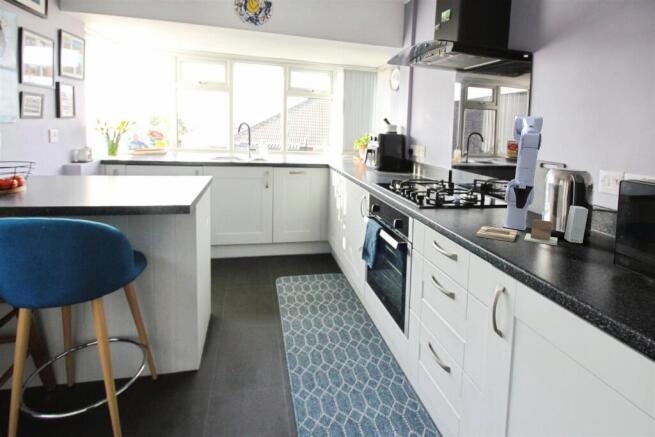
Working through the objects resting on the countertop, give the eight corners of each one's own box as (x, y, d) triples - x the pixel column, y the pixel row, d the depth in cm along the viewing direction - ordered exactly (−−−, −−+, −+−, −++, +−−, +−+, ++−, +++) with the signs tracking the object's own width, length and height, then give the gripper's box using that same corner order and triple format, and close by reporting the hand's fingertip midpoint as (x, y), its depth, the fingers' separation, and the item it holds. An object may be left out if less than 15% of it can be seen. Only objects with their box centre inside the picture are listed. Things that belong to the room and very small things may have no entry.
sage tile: (526, 234, 160) (526, 233, 160) (557, 239, 156) (557, 237, 156) (524, 240, 152) (524, 238, 151) (556, 245, 147) (556, 243, 147)
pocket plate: (482, 228, 166) (483, 225, 166) (517, 234, 161) (517, 230, 160) (476, 236, 154) (476, 232, 154) (513, 241, 149) (513, 238, 148)
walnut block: (530, 235, 157) (533, 219, 155) (549, 238, 154) (552, 221, 153) (530, 237, 153) (533, 220, 152) (549, 240, 151) (552, 223, 149)
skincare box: (582, 243, 152) (588, 209, 150) (569, 242, 153) (575, 208, 150) (576, 239, 158) (582, 206, 155) (563, 238, 159) (569, 205, 156)
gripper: (515, 166, 161) (510, 203, 164) (511, 168, 149) (506, 208, 151) (537, 168, 158) (531, 205, 161) (534, 170, 145) (528, 211, 148)
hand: (520, 207), depth 156 cm, fingers open, 7 cm apart
